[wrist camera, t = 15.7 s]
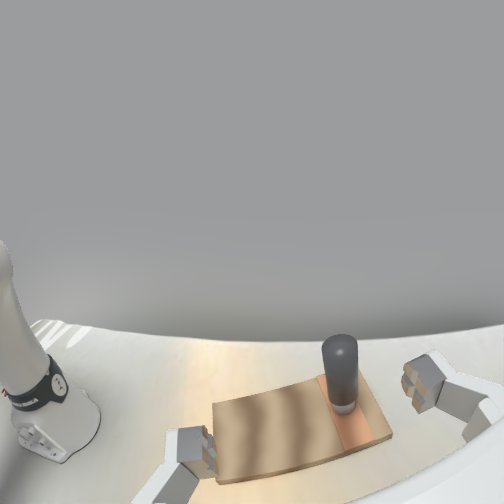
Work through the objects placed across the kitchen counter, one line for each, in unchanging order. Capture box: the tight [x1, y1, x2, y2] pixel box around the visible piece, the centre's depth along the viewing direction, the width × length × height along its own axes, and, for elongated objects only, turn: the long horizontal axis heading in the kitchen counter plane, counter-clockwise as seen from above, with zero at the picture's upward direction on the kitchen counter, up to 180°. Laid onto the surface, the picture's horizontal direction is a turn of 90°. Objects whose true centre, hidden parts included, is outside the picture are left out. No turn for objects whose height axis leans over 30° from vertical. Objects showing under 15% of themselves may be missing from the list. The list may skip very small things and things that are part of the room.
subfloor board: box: [212, 368, 393, 485], centre depth 35 cm, size 23×14×2 cm, turn 97°
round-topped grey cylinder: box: [322, 334, 358, 415], centre depth 33 cm, size 4×4×12 cm
